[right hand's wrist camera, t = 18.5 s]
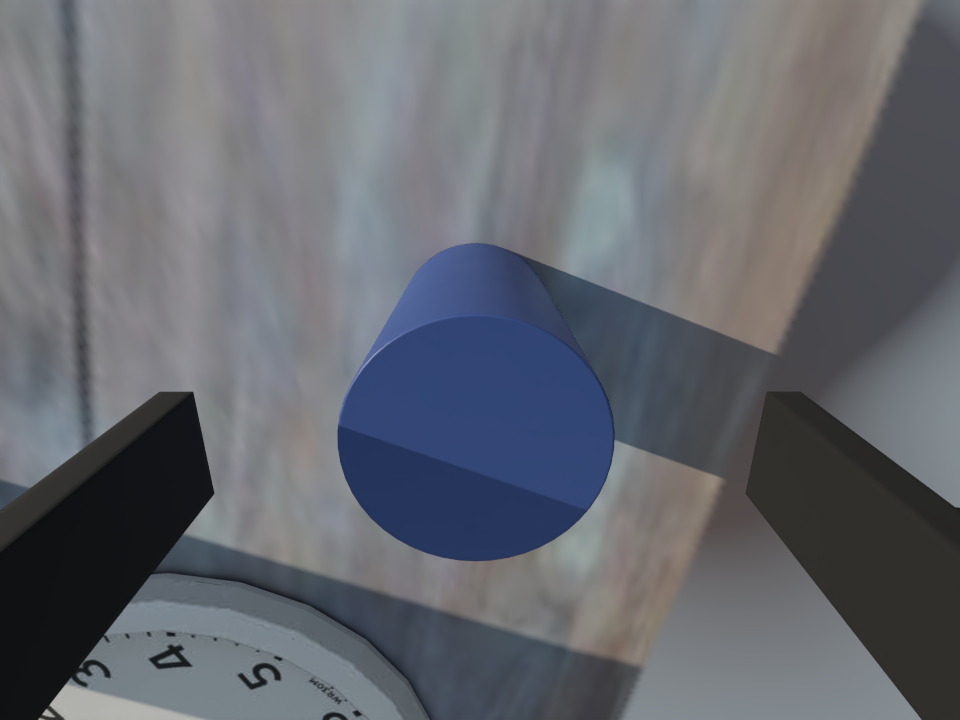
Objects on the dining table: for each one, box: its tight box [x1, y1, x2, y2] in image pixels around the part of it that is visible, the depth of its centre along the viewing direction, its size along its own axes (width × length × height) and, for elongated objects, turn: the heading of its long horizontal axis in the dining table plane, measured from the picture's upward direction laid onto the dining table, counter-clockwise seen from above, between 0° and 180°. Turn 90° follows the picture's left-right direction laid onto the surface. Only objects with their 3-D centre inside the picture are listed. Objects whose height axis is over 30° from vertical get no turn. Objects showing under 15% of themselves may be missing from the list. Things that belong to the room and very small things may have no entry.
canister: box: [338, 243, 615, 561], centre depth 19 cm, size 7×7×12 cm
